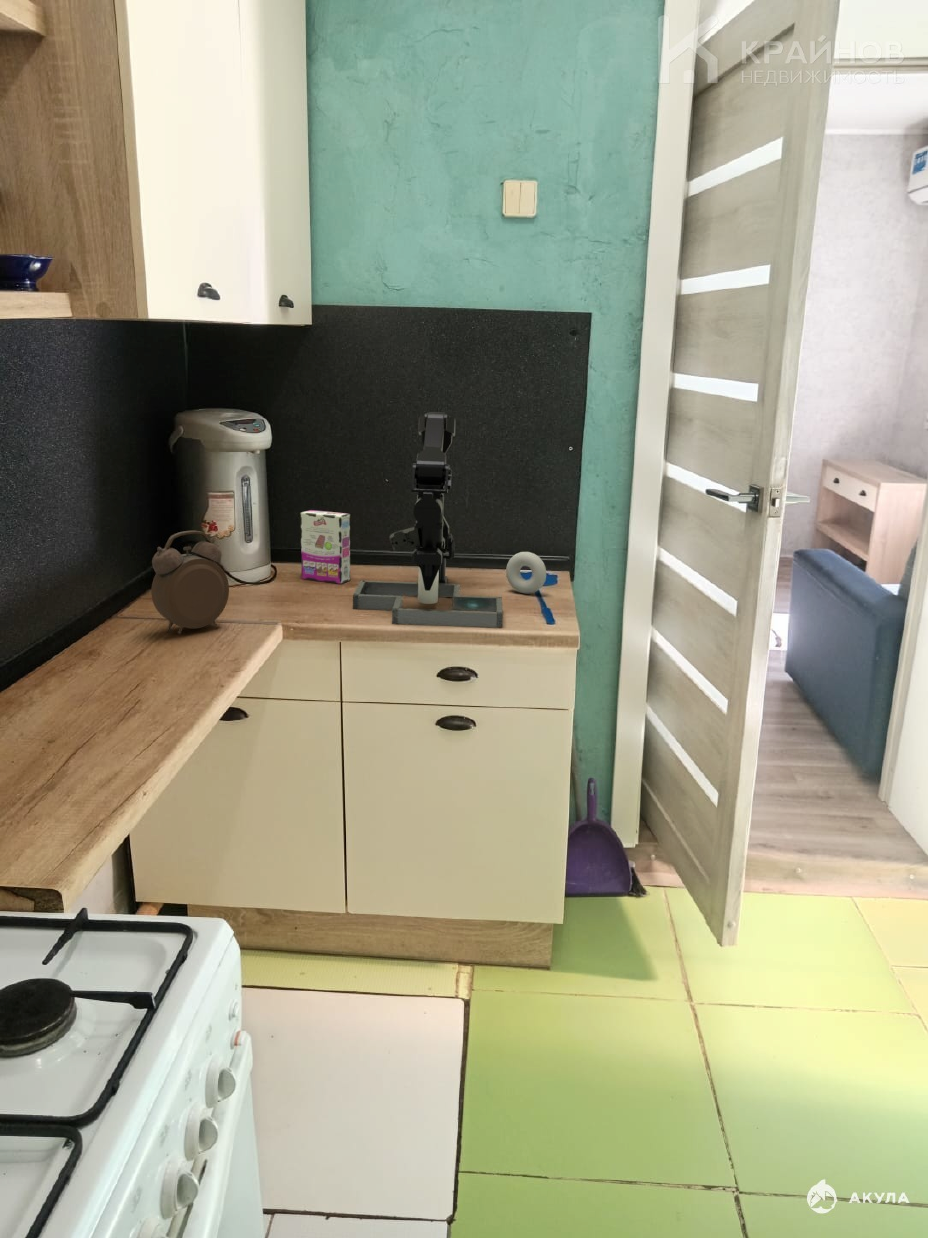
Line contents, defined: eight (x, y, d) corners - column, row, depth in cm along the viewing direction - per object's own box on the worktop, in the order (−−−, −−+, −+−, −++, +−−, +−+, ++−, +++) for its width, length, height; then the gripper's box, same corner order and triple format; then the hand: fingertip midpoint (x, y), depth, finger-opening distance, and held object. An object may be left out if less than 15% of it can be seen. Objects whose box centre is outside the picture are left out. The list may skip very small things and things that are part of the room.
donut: (547, 594, 231) (549, 553, 228) (542, 598, 228) (544, 555, 225) (508, 588, 235) (510, 547, 232) (502, 591, 232) (504, 550, 229)
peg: (418, 598, 218) (419, 558, 216) (438, 598, 218) (439, 559, 216) (416, 603, 214) (417, 562, 211) (437, 604, 214) (438, 563, 211)
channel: (360, 592, 227) (360, 580, 226) (500, 598, 227) (501, 585, 226) (346, 621, 205) (346, 608, 204) (502, 627, 204) (502, 613, 203)
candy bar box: (351, 580, 238) (351, 513, 234) (341, 584, 234) (341, 516, 229) (311, 574, 242) (310, 508, 238) (300, 579, 238) (299, 511, 233)
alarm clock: (213, 619, 203) (209, 523, 198) (232, 627, 198) (229, 529, 193) (148, 632, 194) (142, 532, 188) (166, 641, 189) (160, 538, 183)
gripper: (396, 508, 220) (395, 576, 224) (388, 523, 202) (387, 597, 206) (445, 510, 220) (444, 578, 224) (442, 525, 202) (440, 599, 206)
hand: (428, 587), depth 215 cm, fingers closed on peg, 4 cm apart
